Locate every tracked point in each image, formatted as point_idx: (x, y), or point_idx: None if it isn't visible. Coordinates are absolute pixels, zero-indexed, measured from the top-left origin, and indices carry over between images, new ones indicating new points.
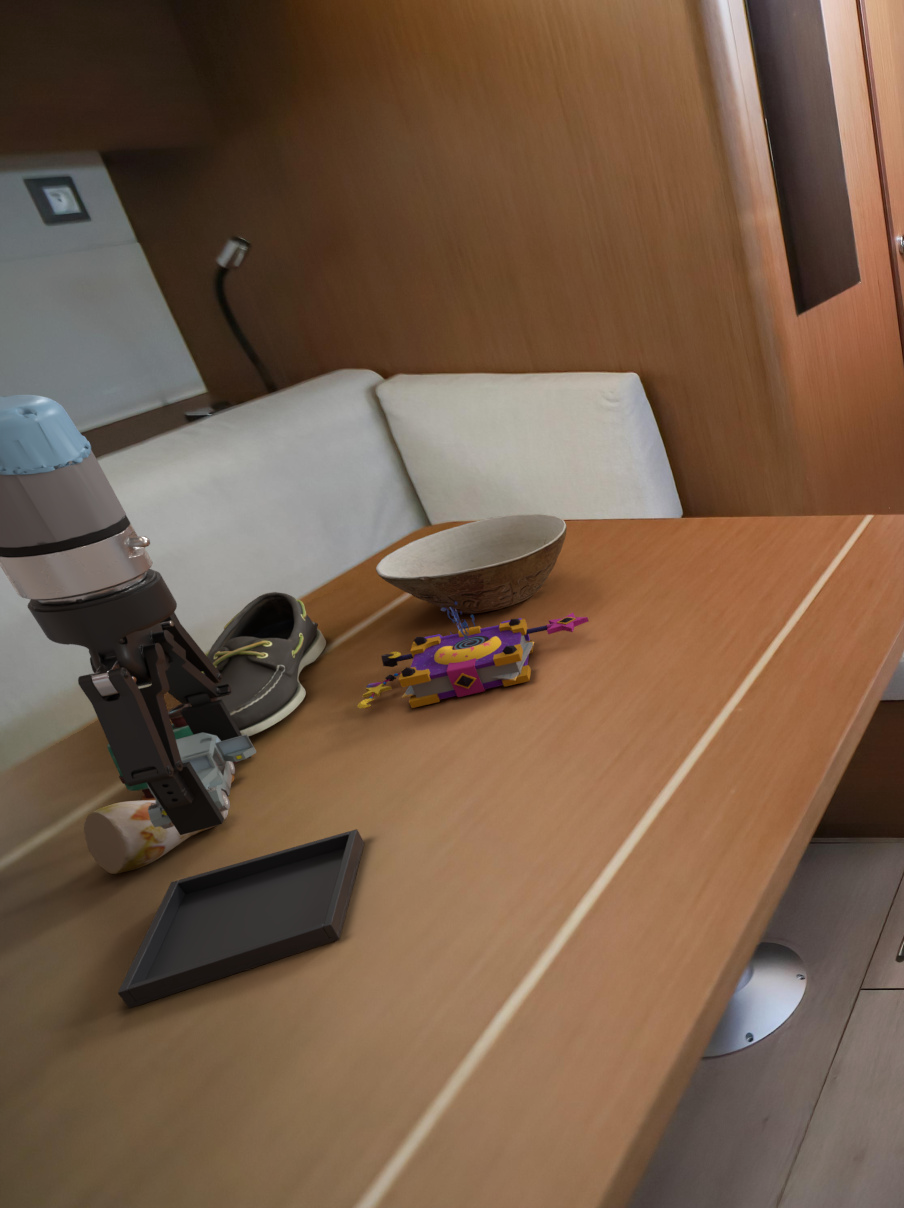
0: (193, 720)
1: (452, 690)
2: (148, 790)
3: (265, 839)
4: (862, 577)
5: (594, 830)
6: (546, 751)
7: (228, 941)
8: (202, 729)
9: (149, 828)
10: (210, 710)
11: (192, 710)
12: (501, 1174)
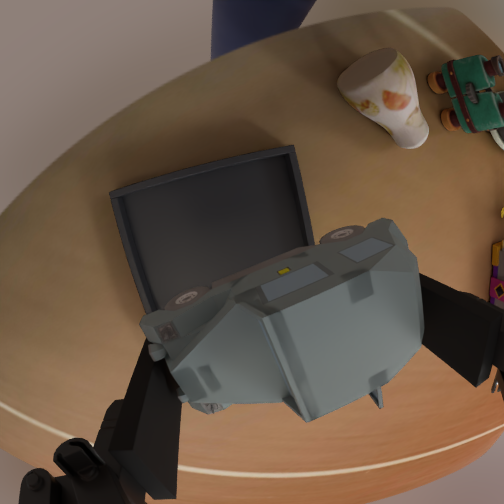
0: (465, 321)
1: (497, 275)
2: (442, 77)
3: (361, 191)
4: (462, 454)
5: (257, 456)
6: (390, 387)
7: (181, 242)
8: (444, 315)
9: (373, 105)
10: (471, 362)
11: (483, 344)
12: (13, 438)
